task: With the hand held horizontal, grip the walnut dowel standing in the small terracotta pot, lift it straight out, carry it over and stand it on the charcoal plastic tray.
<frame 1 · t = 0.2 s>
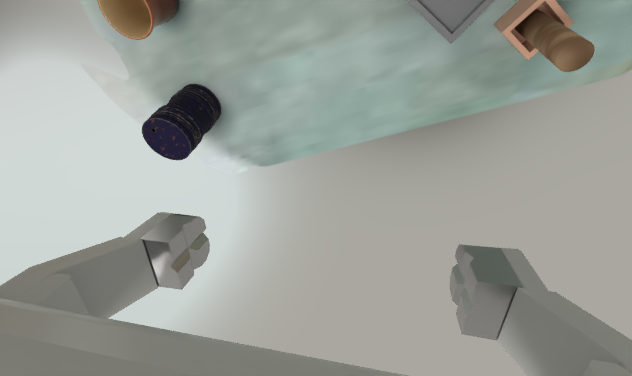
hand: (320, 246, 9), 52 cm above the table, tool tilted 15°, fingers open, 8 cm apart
pot: (526, 19, 47), on the table
storage jar: (201, 103, 68), on the table
dowel: (527, 20, 46), resting on pot
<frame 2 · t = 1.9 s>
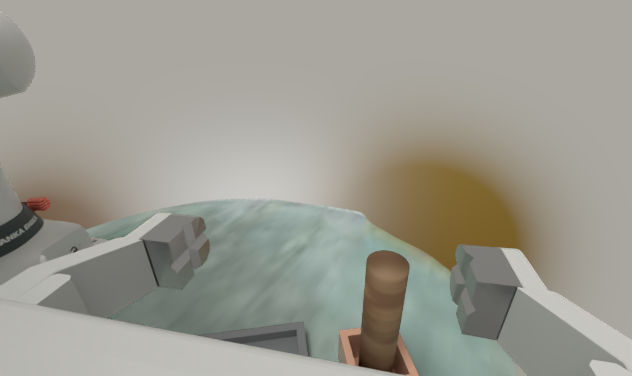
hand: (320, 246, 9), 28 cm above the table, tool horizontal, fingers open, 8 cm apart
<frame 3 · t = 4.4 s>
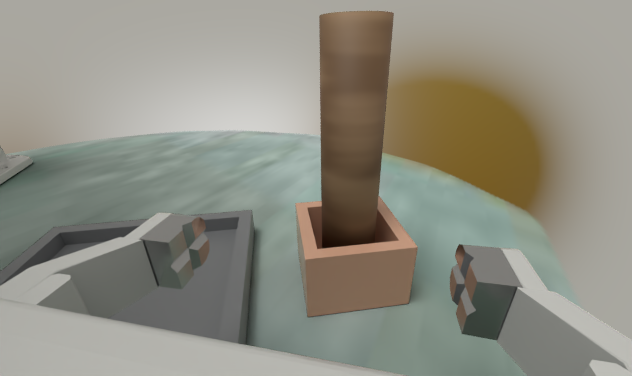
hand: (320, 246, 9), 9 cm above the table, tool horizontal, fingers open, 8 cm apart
pot: (346, 274, 21), on the table
dowel: (346, 269, 21), resting on pot
tray: (122, 311, 19), on the table
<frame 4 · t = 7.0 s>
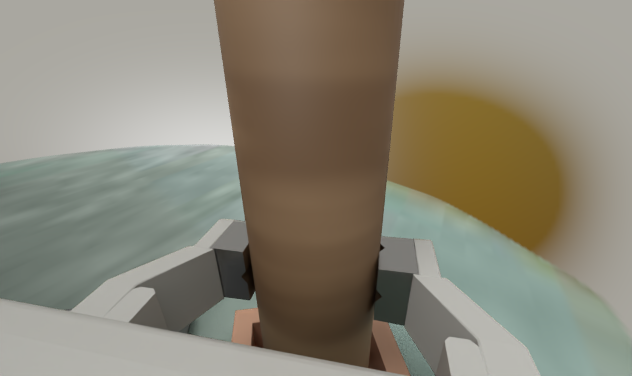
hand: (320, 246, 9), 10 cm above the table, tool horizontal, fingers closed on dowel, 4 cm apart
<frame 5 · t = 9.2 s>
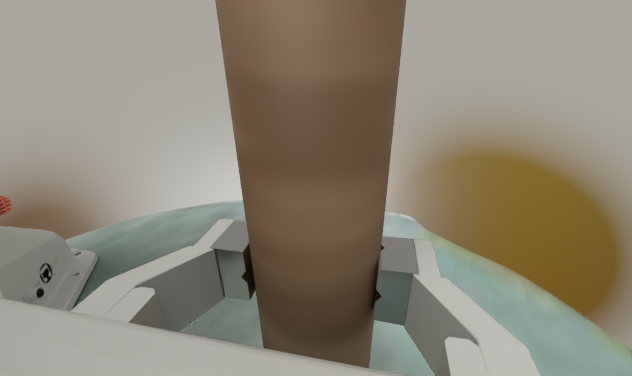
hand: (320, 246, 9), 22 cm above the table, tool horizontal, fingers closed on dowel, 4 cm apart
when the fingers open (12 cm above the table, at t = 11.7 s): dowel drops 1 cm, resting on tray.
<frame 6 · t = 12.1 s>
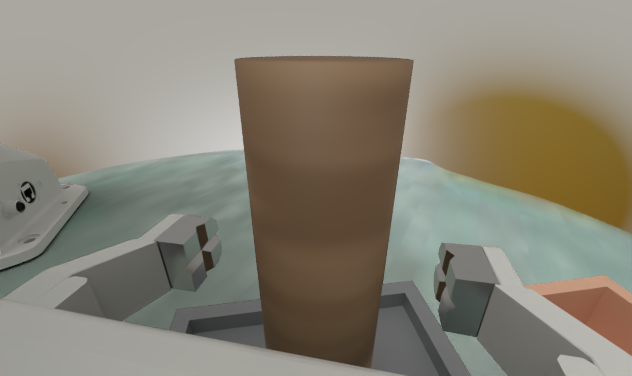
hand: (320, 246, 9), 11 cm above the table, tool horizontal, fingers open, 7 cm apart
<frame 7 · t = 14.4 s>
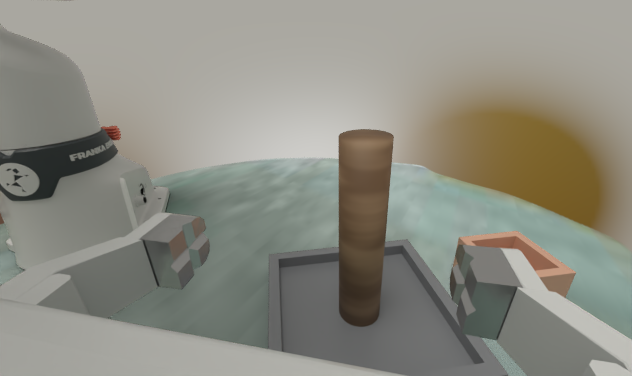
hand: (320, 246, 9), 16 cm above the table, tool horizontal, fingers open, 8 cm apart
pot: (500, 289, 29), on the table
dowel: (358, 309, 26), point 1 cm above the table, touching tray
tray: (358, 317, 27), on the table
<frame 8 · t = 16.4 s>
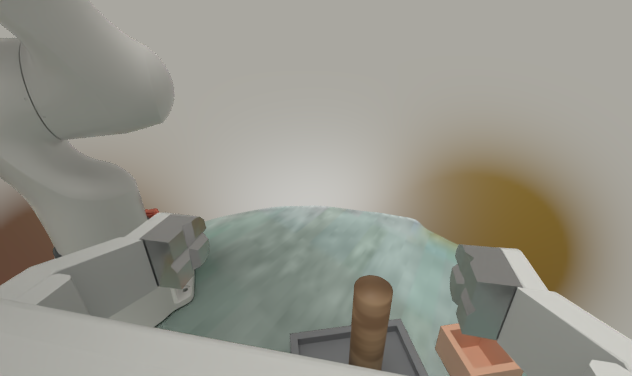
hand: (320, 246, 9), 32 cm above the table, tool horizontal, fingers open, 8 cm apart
pot: (472, 368, 38), on the table
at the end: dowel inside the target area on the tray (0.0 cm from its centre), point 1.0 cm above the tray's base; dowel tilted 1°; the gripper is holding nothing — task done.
